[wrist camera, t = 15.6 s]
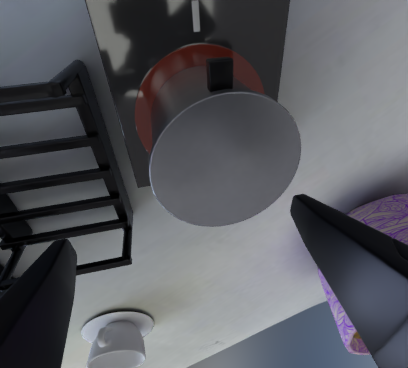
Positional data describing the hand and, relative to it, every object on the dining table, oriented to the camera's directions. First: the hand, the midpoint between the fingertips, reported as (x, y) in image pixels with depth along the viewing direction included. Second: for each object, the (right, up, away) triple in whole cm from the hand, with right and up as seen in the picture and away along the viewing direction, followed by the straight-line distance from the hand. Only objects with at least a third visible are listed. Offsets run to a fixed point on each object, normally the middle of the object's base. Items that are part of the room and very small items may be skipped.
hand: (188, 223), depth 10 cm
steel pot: (0, +6, +7) cm, 9 cm away
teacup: (-12, -19, +26) cm, 35 cm away
